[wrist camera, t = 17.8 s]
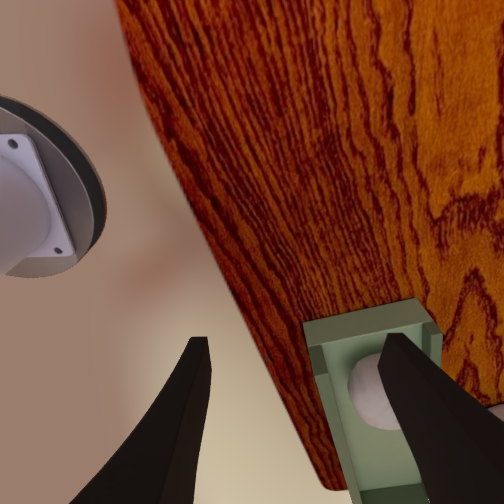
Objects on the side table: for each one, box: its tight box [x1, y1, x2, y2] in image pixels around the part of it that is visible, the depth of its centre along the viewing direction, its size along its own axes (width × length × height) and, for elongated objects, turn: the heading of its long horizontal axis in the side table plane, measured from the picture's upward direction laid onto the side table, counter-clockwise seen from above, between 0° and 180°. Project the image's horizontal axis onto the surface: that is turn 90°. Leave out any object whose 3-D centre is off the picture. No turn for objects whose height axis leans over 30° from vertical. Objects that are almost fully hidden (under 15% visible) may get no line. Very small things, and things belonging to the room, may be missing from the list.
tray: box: [303, 298, 443, 504], centre depth 28 cm, size 28×9×5 cm, turn 17°
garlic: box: [347, 352, 401, 430], centre depth 21 cm, size 6×5×5 cm
